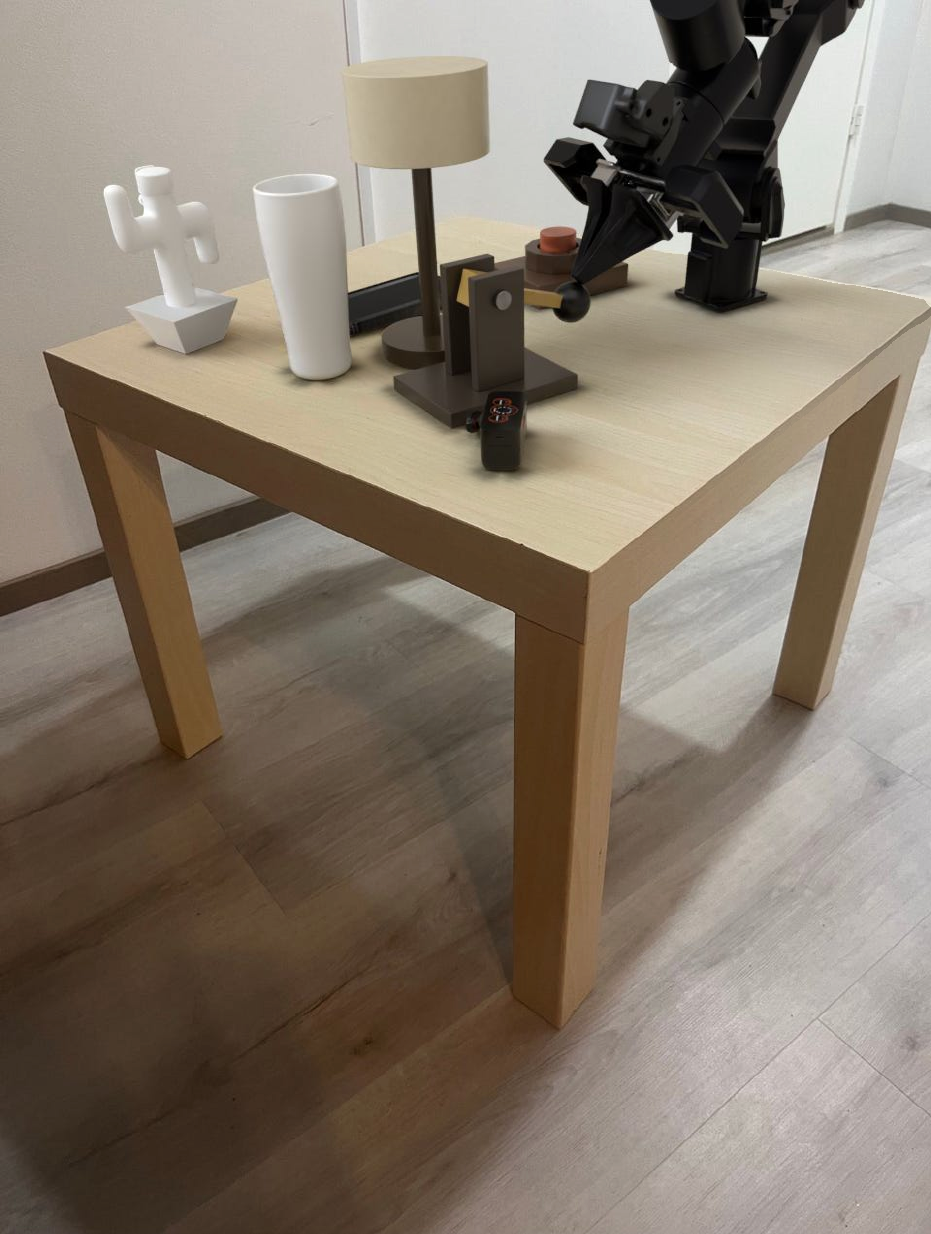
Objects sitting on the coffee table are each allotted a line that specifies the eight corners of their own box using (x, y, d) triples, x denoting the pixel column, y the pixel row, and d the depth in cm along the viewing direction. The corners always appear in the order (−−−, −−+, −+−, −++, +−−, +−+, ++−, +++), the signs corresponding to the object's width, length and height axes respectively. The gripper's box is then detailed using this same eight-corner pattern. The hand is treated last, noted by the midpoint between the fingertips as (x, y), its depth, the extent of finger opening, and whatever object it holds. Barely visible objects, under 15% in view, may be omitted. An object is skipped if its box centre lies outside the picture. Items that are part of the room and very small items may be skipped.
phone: (301, 306, 90) (422, 270, 98) (303, 318, 91) (423, 280, 98) (347, 326, 85) (471, 286, 93) (349, 338, 86) (472, 297, 93)
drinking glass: (328, 392, 77) (301, 198, 68) (266, 377, 80) (232, 189, 71) (376, 363, 81) (357, 177, 72) (316, 350, 84) (290, 170, 75)
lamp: (453, 319, 89) (439, 52, 76) (519, 353, 82) (516, 64, 68) (350, 346, 85) (317, 68, 72) (410, 385, 77) (385, 82, 64)
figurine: (254, 334, 88) (223, 161, 79) (172, 366, 83) (128, 184, 74) (206, 319, 92) (171, 153, 83) (125, 349, 86) (77, 175, 77)
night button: (561, 242, 96) (561, 224, 94) (583, 250, 93) (583, 231, 92) (532, 249, 94) (532, 230, 93) (554, 257, 92) (554, 238, 91)
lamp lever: (568, 318, 79) (578, 279, 78) (592, 329, 77) (603, 289, 75) (451, 304, 72) (460, 261, 71) (473, 315, 70) (483, 271, 69)
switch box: (573, 265, 101) (574, 226, 99) (627, 285, 95) (629, 245, 92) (488, 286, 97) (487, 246, 94) (539, 309, 90) (539, 267, 88)
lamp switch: (514, 355, 82) (513, 238, 76) (577, 388, 75) (581, 264, 69) (394, 389, 77) (382, 268, 71) (451, 428, 70) (444, 299, 65)
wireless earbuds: (528, 427, 70) (527, 386, 68) (520, 473, 64) (520, 430, 62) (466, 426, 71) (464, 386, 69) (453, 472, 65) (451, 429, 63)
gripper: (564, 24, 74) (452, 196, 76) (736, 40, 61) (596, 247, 63) (634, 121, 82) (531, 274, 84) (799, 154, 69) (673, 334, 71)
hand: (576, 280), depth 76 cm, fingers closed, pressing on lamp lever
